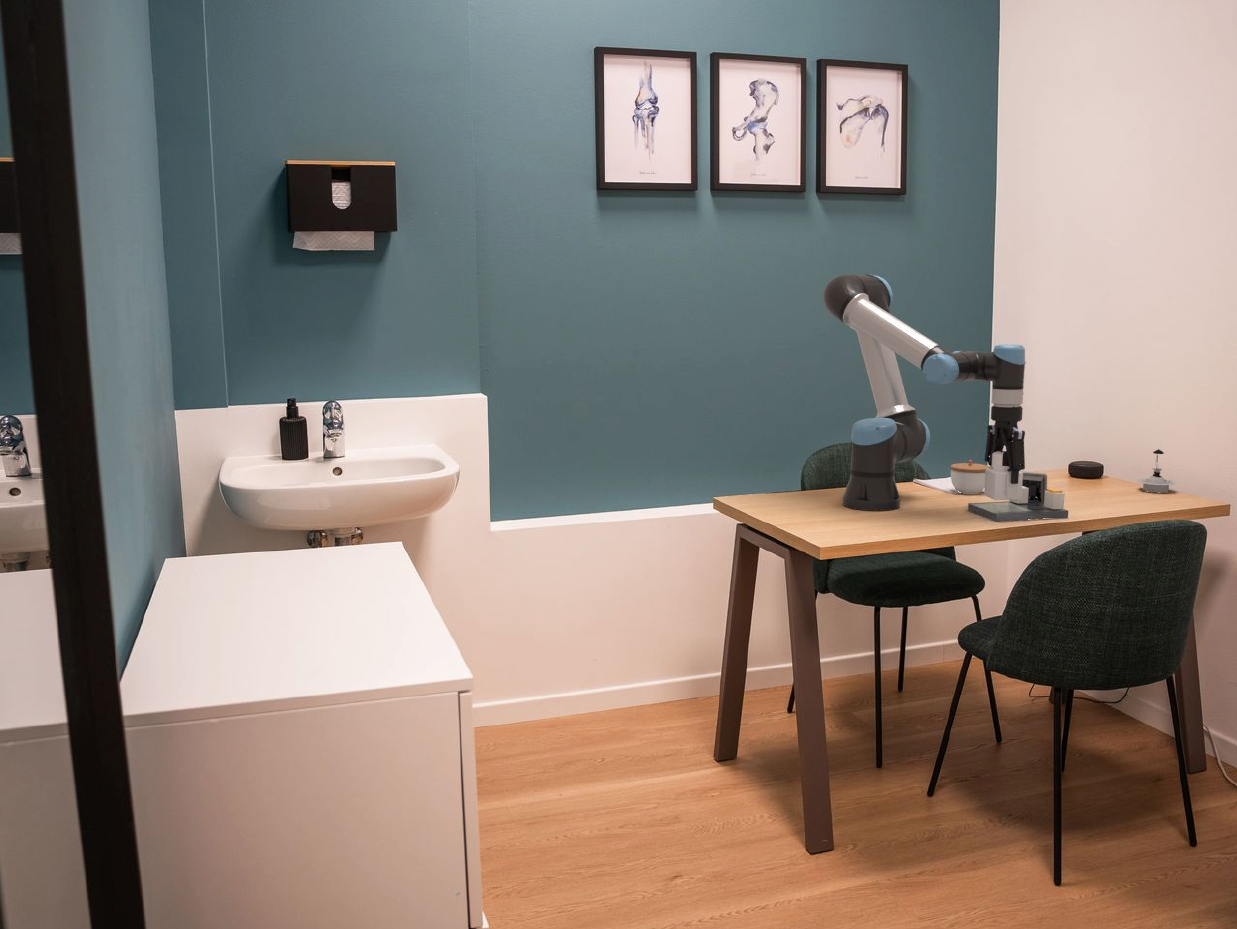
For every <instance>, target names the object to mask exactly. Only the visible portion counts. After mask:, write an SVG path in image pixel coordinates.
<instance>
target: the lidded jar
mask: <svg viewBox="0 0 1237 929" xmlns="http://www.w3.org/2000/svg"><path fill="white" fill-rule="evenodd" d="M988 468H990V465H987V464H982V463H973V460H971V459H970V460H968V462H963V463H960V462H959V463H953V464H950V479H951V484H952V487H954V489H955V490H956V491H957V492H958V491H959V492H961V493H963V494H964V495H979V493H981V492H982V491H983V490H984V489H985V470H986V469H988ZM961 493H960V494H961Z"/></svg>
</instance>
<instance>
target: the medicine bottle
mask: <svg viewBox="0 0 1237 929" xmlns="http://www.w3.org/2000/svg"><path fill="white" fill-rule="evenodd" d="M992 467H993V468H988V469H986V470H985V488H984V489H983V490H984V492H983V493H984V494H983V495H984V496H986V497H988V498H989V499H992V500H993V501H1009V500H1021V499H1022V480H1023V473H1022V472H1020V471H1021V470H1020V471H1019V479H1018V492H1017V496H1010V497H1007V496H1006V486H1007V469H1009V464H1008V458H1007V452H1006V450H1003V451H997V452H994V453H993V454H992Z"/></svg>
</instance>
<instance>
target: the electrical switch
mask: <svg viewBox="0 0 1237 929" xmlns="http://www.w3.org/2000/svg"><path fill="white" fill-rule="evenodd" d="M1020 472H1022V473H1023V480H1022V486H1024V487H1027V488H1029V492H1028V500H1039V501H1042V502H1044V496H1045V491H1047V489H1048V474H1047V473H1045V472H1037V471H1025V470H1020Z"/></svg>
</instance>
